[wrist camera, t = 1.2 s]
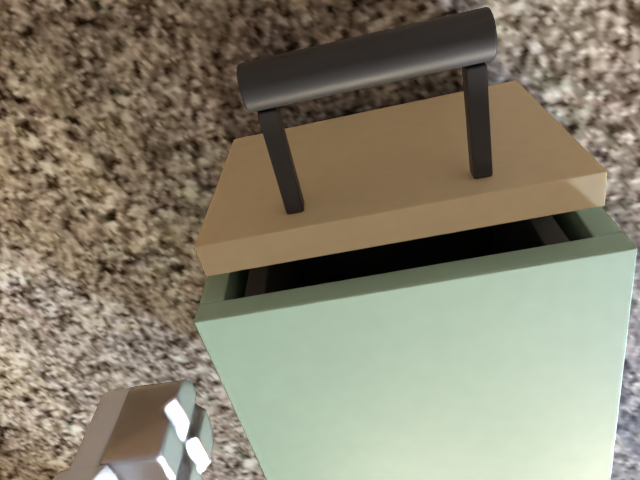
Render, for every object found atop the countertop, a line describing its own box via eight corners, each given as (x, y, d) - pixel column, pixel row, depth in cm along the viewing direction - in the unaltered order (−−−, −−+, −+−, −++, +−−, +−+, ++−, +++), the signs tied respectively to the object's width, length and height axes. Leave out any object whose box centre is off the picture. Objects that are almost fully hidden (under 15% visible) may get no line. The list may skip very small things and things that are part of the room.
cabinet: (238, 174, 27) (193, 322, 18) (524, 117, 25) (638, 247, 16) (314, 400, 35) (310, 575, 26) (528, 369, 34) (603, 545, 25)
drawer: (197, 28, 22) (130, 99, 14) (512, -47, 20) (621, -12, 13) (310, 374, 33) (306, 517, 25) (522, 342, 31) (584, 484, 24)
